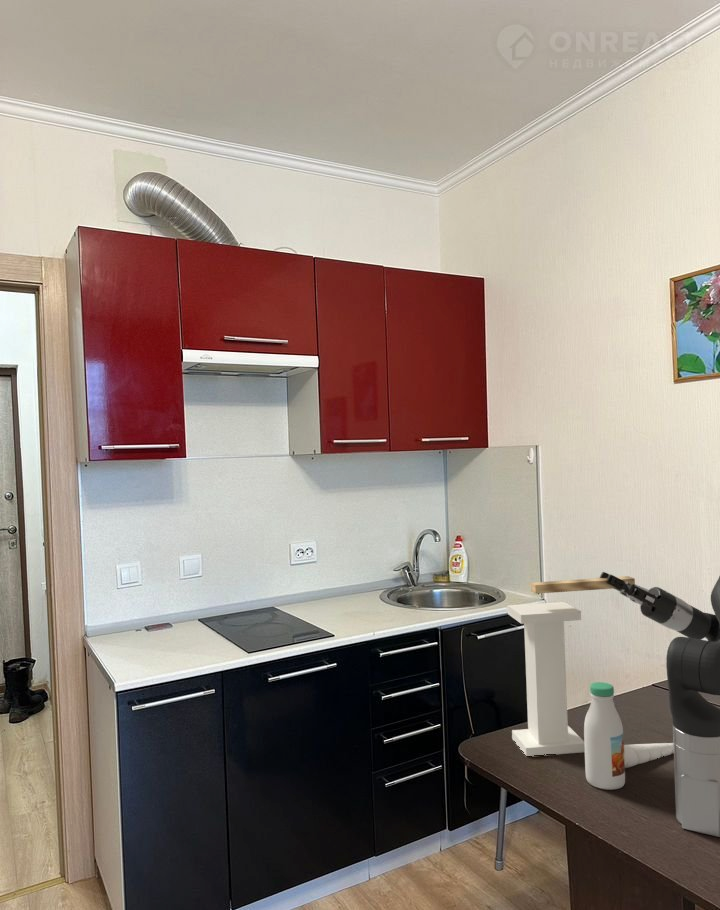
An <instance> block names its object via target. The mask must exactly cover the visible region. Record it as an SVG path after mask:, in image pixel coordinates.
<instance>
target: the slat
mask: <svg viewBox="0 0 720 910" xmlns="http://www.w3.org/2000/svg"><path fill="white" fill-rule="evenodd" d="M616 577H617V578H619V579H621V580H623V581H624V582H625V581H626V582H629V583H630V584H636V581H635V580H636V579H635V577H632V576H629V575H627V576H616ZM606 580H607V578H600V577H598V578H582V579H581V578H580V579H566V580H553V581H537V582H534V581H533V582H530V591H531V592H532V593H533V594H534V595H535V594H537V595H539V594H552V593H565V592H581V591H582V592H583V591H595V590H597V591H598V590H599V591H600V590H612V589H614V588H615V587H614V586H612V585H610V584H608V583H607V582H606ZM614 590H615V589H614Z"/></svg>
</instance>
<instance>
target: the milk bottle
mask: <svg viewBox="0 0 720 910" xmlns="http://www.w3.org/2000/svg"><path fill="white" fill-rule="evenodd" d="M614 688H615V687H614V685H612V684H611V683H609V682H603V681H602V682H601V681H598V682H597V681H596V682H592V683H590V685H589V690H590V696H591V702H590V704H589V705H590V706H589V707H588V710H587V711H586V715H585V718H584V725H583V737H584V739H583V741H584V744H585V752H584V765H585V766H584V768H585V769H584V770H585V771H584V772H585V778H586V781H587V783H588V784H590V785H591V786H593V787H595V788H597V789H600V790H607V791H608V790H610V791H612V790H618V789H621V788H624V785H625V783H626V768H625V759H624V745H625V742H624V741H625V739H624V728H623V723H622V719H621V717H620V714H619V713H618V711H617V709H616V705H615V703H614V698H615V695H614V693H615V689H614Z"/></svg>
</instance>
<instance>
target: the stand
mask: <svg viewBox="0 0 720 910" xmlns="http://www.w3.org/2000/svg"><path fill="white" fill-rule="evenodd" d="M506 608H507V615H508V616H510V617H511V618H512V619H514V620H516V621H517V622H518V623H520V624H521V625H524V627H523V628H524V629H523V631H524V632H523V633H524V653H525V678H526V680H525V681H526V683H525V684H526V704H527V705H526V706H527V707H526V709H527V728H525V729H524V728H523V729H512V730H511V739H512V741H513V742H514V741H515V742H516V743H515V742H514V743H515V744H516V746H517V747H518V746H519V747H520V748H519V747H518V748H519V749H520V751H521V750H522V751H523V752H524V753H523V752H522V751H521V752H522V753H523V754H525V755H526V756H532V757H535V756H534V755H544V754H545V755H544V756H547V755H546V754H556V755H564V754H565V755H567V754H576V753H578V754H579V753H585V744H584V739H583V738H582V737H580V736H579V735H578V733H576V732H575V731H574V730H573V728H571V726H569V725H568V723H569V722H568V720H569V719H568V703H567V702H568V700H567V699H568V697H567V674H566V673H567V672H566V671H567V670H566V667H567V665H566V650H565V649H566V645H565V642H566V641H565V640H566V639H565V622H571V621H582V611H581V610H580V609H578V608H576V607H574V606H572V605H570V604H569V603H567V602H565V601H558V602H557V601H556V602H555V601H554V602H540V603H539V602H538V603H522V604H509V605H506ZM525 755H524V756H525ZM526 756H525V757H526Z"/></svg>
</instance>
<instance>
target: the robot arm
mask: <svg viewBox="0 0 720 910" xmlns="http://www.w3.org/2000/svg"><path fill="white" fill-rule="evenodd" d="M617 577H618V576H615V575H613V574H611V573H610V574H609V573H607V572H605V571H603V572H601V574H600V576H599V578H607V580H606V582H607V583H608V584H610V585H612V586H614V587H615V588H614V590H616V591H618V592H619V594H620V595H622V596H623V597H626V598H628V599H629V601H631V602H633V603H635V604H638V605H640V607H639V609H640V612H641V614H642V615H643V616H644V617H646V618H648V619H649V620H652V621H654V622H656V623H657V624H660V625H662V626H664V627H665V628H667V629H670V630H673V631H676V632H677V633H679V634H681V635H682V636H676V637H675V638H673V639H672V640H670V643H669V645H668V649H667V652H666V660H665V661H666V663H665V665H666V676H667V687H668V697H669V700H668V701H669V708H670V713H671V717H672V739H673V740H672V743H673V747H674V753H673V769H674V793H675V794H674V795H675V798H674V799H675V817H676V820H677V821H678V823H680V824H681V828H682V829H685V830H688V831H692V832H696V833H700V834H704V835H705V834H706V835H710V836H714V837H717V838H718V837H719V838H720V708H719V707H717V706H716V705H714V704H713V703H711V702H710V701H708V700H707V699H706V698H704V696H703V695H702V694H701V693H703V694H707V695H712V696H720V575H719V577H718V578H717V580H716V581H715V584H714V586H713V588H712V590H711V594H710V604H711V606H712V609H713V613H714V614H713V613H708V612H705V611H704V612H703V611H702V610H701V609H699V608H696V607H694V606H692V605H691V604H689V603H688V602H686V601H685V600H683V599H681V598H680V597H678V596H677V595H674V594H672V593H670V592H668V591H667V590H665V589H662V588H661V587H659V586H654V587H651V588H649V589H648V588H646V587H642V586H640V585H638V584H636V583H635V584H630V583H629V582H626V581H625V582H624V581H623V580H621V579H619V578H617ZM704 639H706V640H704Z"/></svg>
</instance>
